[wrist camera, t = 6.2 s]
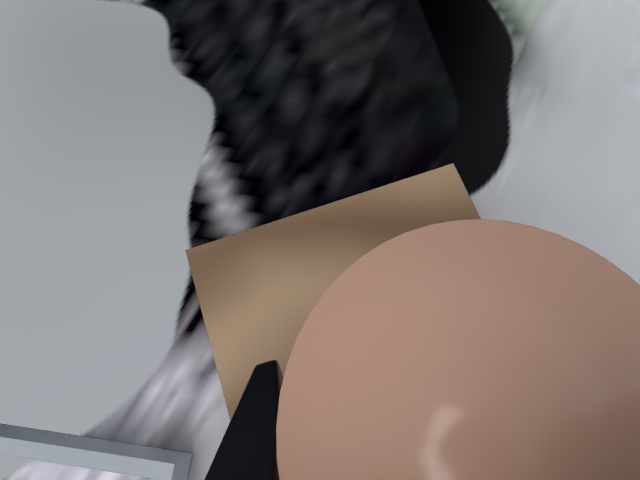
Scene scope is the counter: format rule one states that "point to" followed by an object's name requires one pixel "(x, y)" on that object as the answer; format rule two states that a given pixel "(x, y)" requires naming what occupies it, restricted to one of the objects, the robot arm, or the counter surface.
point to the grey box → (94, 453)
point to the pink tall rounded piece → (467, 363)
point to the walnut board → (303, 267)
